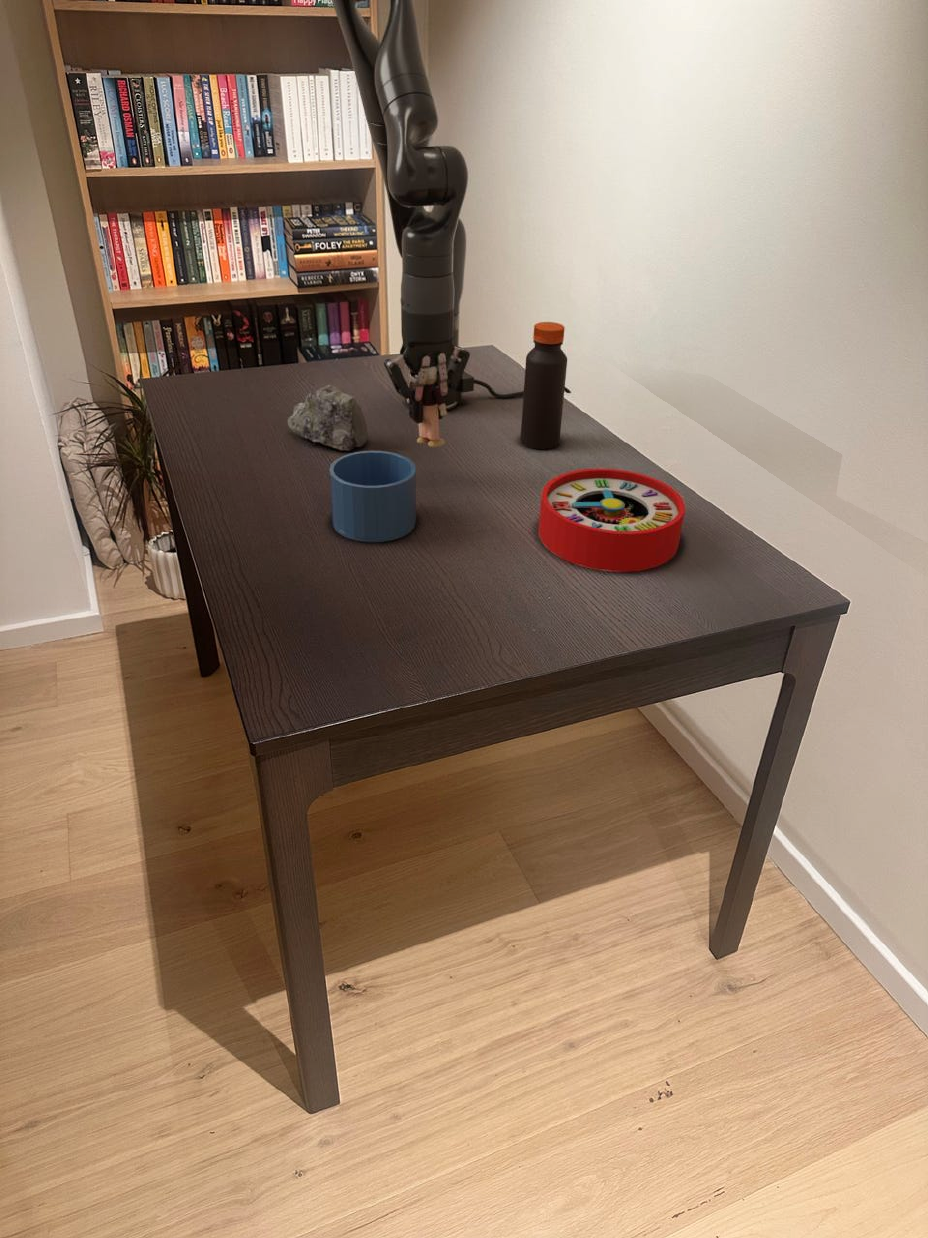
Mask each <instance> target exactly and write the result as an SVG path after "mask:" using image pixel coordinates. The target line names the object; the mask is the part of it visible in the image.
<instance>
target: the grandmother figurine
mask: <svg viewBox="0 0 928 1238" xmlns="http://www.w3.org/2000/svg"><path fill="white" fill-rule="evenodd" d="M437 372H438V370H437V367H435V366H434V367H430V368H428V372H427V379H426V385H425V386H424V387H423V394H422V400H423V423H419V424H418V438H417V439H416V443H417V444H422V445H423V444H427V446H428V447H429V448H438V447H443V446H445V445H446V441H445V440H444V439H443V438H442V437H440V427H439V425H440V424H439V419H438V407H439V410H440V414H441V416H442V417H443V418H444V417H447V415H448V410H446V406H445V401H444V399H443V396H442V394H441V391H440V390H439V389H438V388H437V387H436V386H434V385H433V383H435V381H436V380H437ZM415 375H416V374H415ZM416 377H418V376H417V375H416ZM406 403H407V404H408V403H409V399H406Z"/></svg>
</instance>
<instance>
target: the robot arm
mask: <svg viewBox="0 0 928 1238" xmlns="http://www.w3.org/2000/svg"><path fill="white" fill-rule="evenodd" d="M367 1H368V0H331V3H332V5H333V9H334V11H335V14H336V18H337V20H338V23H339V27H340V29H341V31H342V32H341V33H342V35H343V38H344V42H345V45H346V48H347V50H348V53H349V57H350V61H351V65H352V68H353V71H354V72H353V73H354V75H355V79H356V84H357V88H358V92H359V97H360V99H361V104H362V107H363V112H364V115H365V119H366V123H367V126H368V129H369V134H370V137H371V140H372V144H373V146H374V147H373V148H374V149H375V152H376V155H377V160H378V163H379V166H380V171H381V174H382V179H383V183H384V187H385V191H386V196H387V200H388V204H389V205H388V206H389V211H390V216H391V221H392V222H391V223H392V227H393V228H392V229H393V233H394V239H395V243H396V247H397V250H398V253H399V256H400V258H401V265H402V267H401V269H402V270H401V271H402V272H401V282H400V321H401V323H400V324H401V325H400V327H401V328H400V329H401V330H400V331H401V339H402V344H401V347H400V350H399V354H398V355H397V356H395V357H394V358H393V359H390V358H385V360H384V362H383V366H384V369H385V370H386V372H387V374H388V376H389V379H390V380H391V382H392V385H393V387H394V390H395V391H396V393H397V394H399V396H401V397H403V398H404V399H406V400H407V399H409V403H407V405H408V415H409V418H410V419H412V421H413V422H415V423H416V424H417V425H419V423H423V400H422V394H423V387H424V386H425V385H426V379H427V372H428V368H430V367H434V366H435V367H437V370H438V372H437V380H436V381H435V383H433V385H434V386H436V387H437V388H438V389H439V390H440V391H441V394H442V396H443V399H444V401H445V406H446V411H449V410H452V409H454V408H456V407H457V406H459V405H460V406H461V405H462V399H463V393H469V392H473V391H474V389H475V385H479V386H482V387H484V388H485V389H486V390H488V392H489V393H490V395H492V396H493V397H494V398H497V399H502V400H503V399H512V398H515V397H521V396H522V397H523V394H524V390H522V391H517V392H512V393H506V394H501V393H498V392H496V391H494V389H493V387H492V386H491V385H489V384H488V383H486V382H484V381H483V380H479V379H475V377H474V376H472V375H471V374H469V373H467V372H466V371H465V369H466V368H467V364H468V361H469V359H470V357H471V353H470V351H468V350H467V349H464V348H463V347H461V346H460V310H461V307H460V306H461V300H462V296H463V292H464V284H465V283H464V282H465V271H466V270H465V269H466V258H467V232H466V231H467V230H466V227H465V224H464V222H463V221H462V219H461V218H460V215H461V212H462V208H463V204H464V201H465V197H466V193H467V190H468V183H469V168H468V165H467V162H466V159H465V157H464V155H463V154H462V152H461V151H460V150H459V149H458V148H457V147H455V146H452V145H432V146H430V144H431V138H432V136H433V135H434V134H435V133H436V131H437V129H438V125H439V114H438V110H437V106H436V102H435V99H434V94H433V91H432V88H431V85H430V81H429V78H428V74H427V71H426V67H425V62H424V57H423V53H422V46H421V40H420V34H419V27H418V19H417V12H416V7H415V1H414V0H389V10H388V16H387V21H386V25H385V29H384V32H383V35H382V38H381V41H380V40H379V39H378V38H377V36H376V35H375V34H374V33H373V31H372V30H371V28H370V27H369V26H368V24H367V23H366V21H365V19H364V18H363V16H362V14H361V12H360V10H359V8H358V4H361V3H363V2H367ZM425 207H433V208H432V209H431V211H428V210H426V208H425ZM404 364H405V365H406V367H407V380H406V378H405V377H404V374H403V373H404V372H405V367H404ZM415 374H416V375H417V376H418V377H416V375H415ZM564 393H566V394H571V393H572V391H571V390H570V389H569V388H568V387H566V386H565V390H564ZM443 418H444V417H442V416H441V414H440V410H439V407H438V420H442V419H443Z"/></svg>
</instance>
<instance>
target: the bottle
mask: <svg viewBox="0 0 928 1238" xmlns="http://www.w3.org/2000/svg"><path fill="white" fill-rule="evenodd" d="M565 329H566V328H565V326H564V325H563V324H561V323H558V322H553V321H540V322H537V323H535V324H534V326H533V335H532V339H533V341H532V342H533V343H534V347H533V348H532V349H530V351H528V352H527V354H526V357H525V368H524V382H523V391H524V394H523V395H522V409H521V425H520V436H519V437H520V442H521V444H522V445H524V446H526V448H531V449H533V450H534V449H535V450H551V449H553V448H555V447H557V446H558V445H559V444H560V440H561V431H562V419H563V411H564V410H563V409H564V399H565V391H564V390H565V387H566V379H567V370H568V369H567V368H568V356H567V355H566V353H565V352H564V351H563V349H562V345H563V344H564V339H565Z"/></svg>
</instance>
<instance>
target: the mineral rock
mask: <svg viewBox="0 0 928 1238" xmlns="http://www.w3.org/2000/svg"><path fill="white" fill-rule="evenodd" d="M366 421H367V420H366V418H365V415H364V412H363V409H362V407H361V406H360V404H359V403H358V402H357V400H356V399H355V398H354V396H352V395H350V394H347V393H344V392H342V390H341V389H340V388H339V387H338V386H335V385H331V384H328V385H325V386H323V387H320V388H318V389H317V390H316V391H312V392H310V393H308V394H307V395H306V397H305V400H304V402H300V403H297V404H295V406H294V408H293V413H292V414H291V415H290V416H289V417H288V418H287V426H288V428H289V429H290V431H292V433H295V434H296V435H298V436H299V437H301V438H303V439H307V440H309V441H312V442H313V443H320V444H322V445H324V446H327V447H330V448H333V449H336V450H339V451H346V452H350V451H353V450H354V449H355V448H362V447H363V445H365V443H366V442H367V441H368V437H369V432H368V424H367V422H366Z"/></svg>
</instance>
